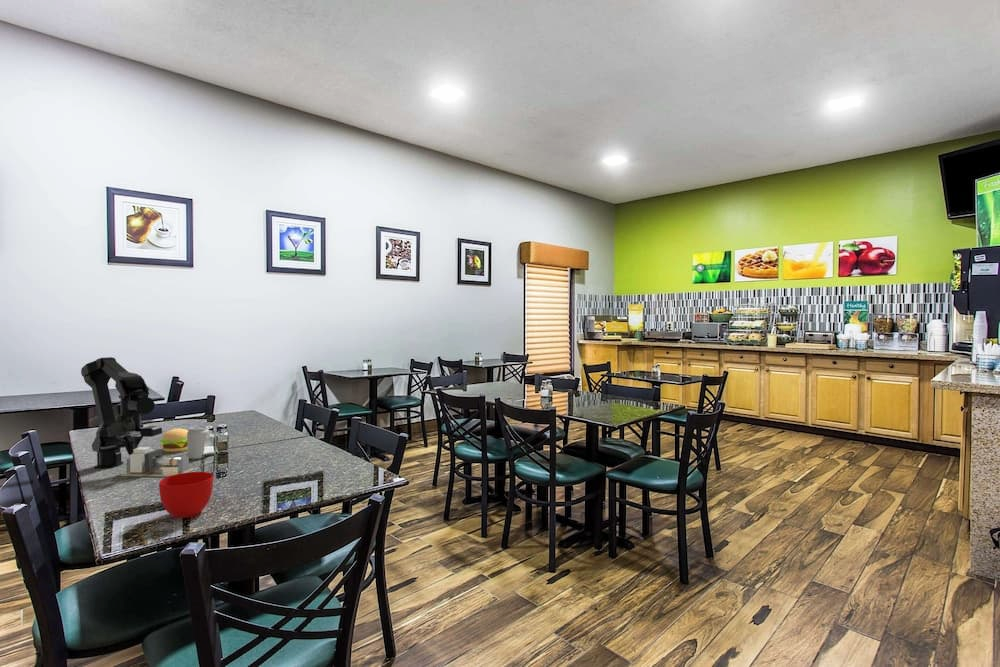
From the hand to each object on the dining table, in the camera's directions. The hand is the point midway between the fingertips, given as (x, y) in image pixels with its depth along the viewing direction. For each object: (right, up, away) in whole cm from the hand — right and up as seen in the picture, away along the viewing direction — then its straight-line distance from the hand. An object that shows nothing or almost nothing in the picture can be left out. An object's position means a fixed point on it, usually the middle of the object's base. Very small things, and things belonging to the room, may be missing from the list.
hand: (131, 455), depth 180 cm
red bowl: (+43, -8, -36) cm, 56 cm away
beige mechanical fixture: (+9, -6, 0) cm, 11 cm away
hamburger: (-4, -6, +32) cm, 33 cm away
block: (+8, -5, 0) cm, 9 cm away
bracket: (+4, -5, 0) cm, 6 cm away
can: (+12, -6, +20) cm, 24 cm away
